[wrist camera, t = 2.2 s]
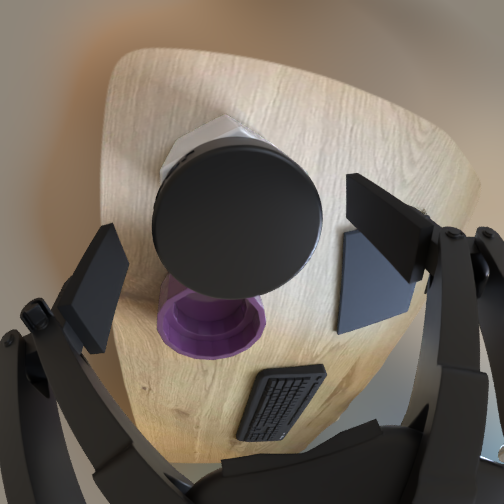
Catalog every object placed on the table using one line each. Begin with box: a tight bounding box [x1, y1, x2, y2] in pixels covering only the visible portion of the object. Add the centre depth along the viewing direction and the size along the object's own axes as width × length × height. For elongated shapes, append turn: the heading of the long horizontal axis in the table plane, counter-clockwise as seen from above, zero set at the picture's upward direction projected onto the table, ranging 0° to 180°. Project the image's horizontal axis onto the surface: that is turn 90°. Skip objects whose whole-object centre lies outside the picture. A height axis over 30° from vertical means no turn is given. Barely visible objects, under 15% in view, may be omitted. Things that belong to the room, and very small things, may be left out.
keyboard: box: [236, 364, 327, 442], centre depth 47 cm, size 30×11×2 cm, turn 170°
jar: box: [152, 114, 323, 300], centre depth 18 cm, size 9×8×12 cm
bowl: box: [157, 273, 266, 360], centre depth 28 cm, size 10×10×5 cm
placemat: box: [337, 215, 430, 335], centre depth 33 cm, size 16×12×1 cm
